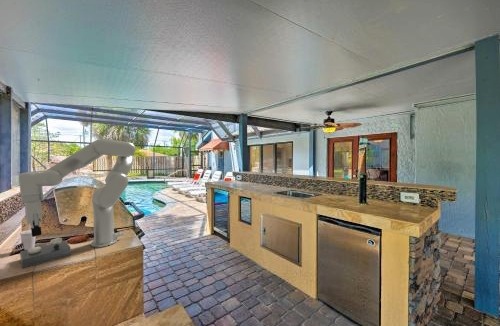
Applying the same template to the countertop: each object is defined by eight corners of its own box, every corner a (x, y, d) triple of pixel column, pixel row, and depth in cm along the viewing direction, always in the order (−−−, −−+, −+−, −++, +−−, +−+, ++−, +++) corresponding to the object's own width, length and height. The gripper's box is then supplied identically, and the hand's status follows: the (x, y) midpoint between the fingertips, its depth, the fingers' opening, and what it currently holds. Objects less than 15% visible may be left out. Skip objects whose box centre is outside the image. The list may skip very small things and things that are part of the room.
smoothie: (27, 252, 114) (25, 226, 113) (17, 251, 115) (16, 225, 114) (41, 247, 120) (39, 222, 119) (31, 246, 121) (30, 221, 120)
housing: (65, 247, 120) (65, 240, 119) (70, 254, 112) (70, 247, 111) (20, 259, 107) (20, 251, 106) (22, 268, 99) (22, 259, 99)
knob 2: (61, 245, 115) (61, 237, 115) (63, 248, 112) (62, 239, 112) (50, 248, 112) (49, 239, 112) (51, 251, 109) (51, 242, 109)
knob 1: (40, 254, 109) (40, 245, 109) (41, 257, 106) (41, 248, 106) (27, 258, 106) (27, 248, 106) (28, 261, 103) (28, 251, 103)
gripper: (19, 197, 107) (24, 234, 108) (22, 202, 97) (27, 242, 98) (41, 194, 112) (44, 229, 114) (45, 198, 102) (49, 236, 104)
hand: (36, 235), depth 106 cm, fingers closed
